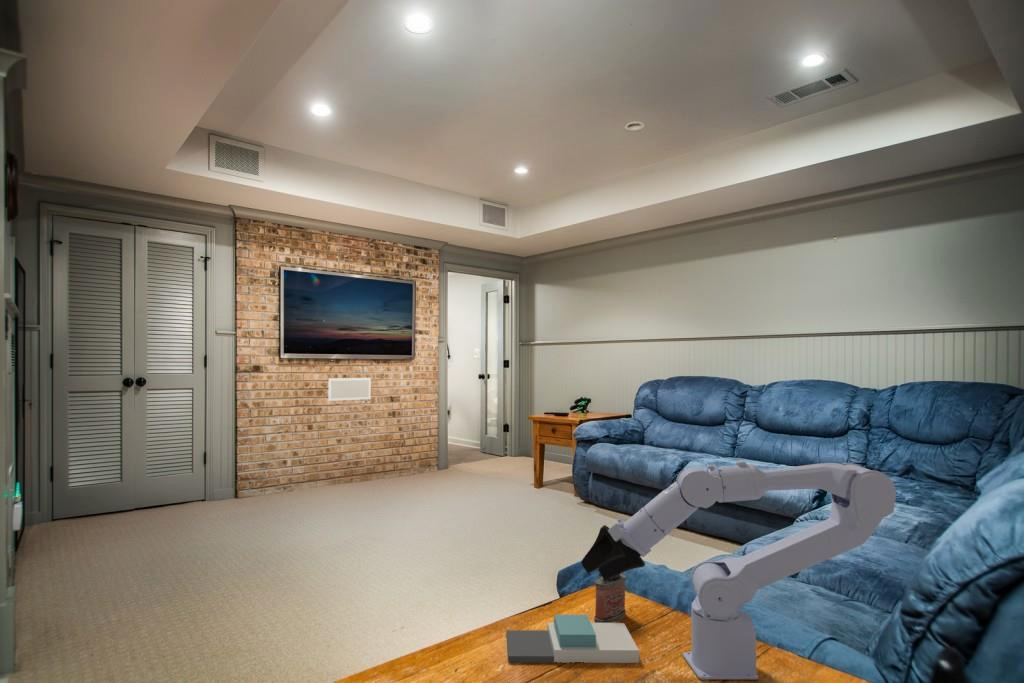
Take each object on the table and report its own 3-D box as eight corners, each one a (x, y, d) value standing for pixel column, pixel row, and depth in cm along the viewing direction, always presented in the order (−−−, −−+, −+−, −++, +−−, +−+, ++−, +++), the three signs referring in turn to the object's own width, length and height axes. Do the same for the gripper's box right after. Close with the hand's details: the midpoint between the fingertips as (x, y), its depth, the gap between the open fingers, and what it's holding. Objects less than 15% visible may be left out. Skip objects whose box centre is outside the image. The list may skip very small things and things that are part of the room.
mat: (547, 636, 101) (547, 630, 101) (554, 662, 92) (554, 656, 92) (506, 635, 101) (506, 630, 101) (508, 662, 91) (508, 656, 92)
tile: (587, 626, 101) (587, 614, 101) (595, 647, 93) (595, 634, 93) (553, 626, 101) (554, 614, 101) (559, 647, 93) (559, 634, 93)
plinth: (623, 634, 103) (623, 622, 103) (638, 662, 92) (639, 650, 92) (547, 633, 102) (547, 622, 102) (554, 662, 92) (554, 649, 92)
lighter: (615, 610, 114) (616, 559, 114) (629, 615, 111) (630, 563, 112) (590, 620, 108) (590, 567, 109) (604, 626, 106) (604, 572, 107)
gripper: (653, 512, 103) (596, 559, 104) (626, 491, 92) (563, 543, 93) (678, 544, 98) (618, 593, 99) (652, 526, 87) (586, 580, 88)
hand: (593, 571), depth 96 cm, fingers open, 7 cm apart
